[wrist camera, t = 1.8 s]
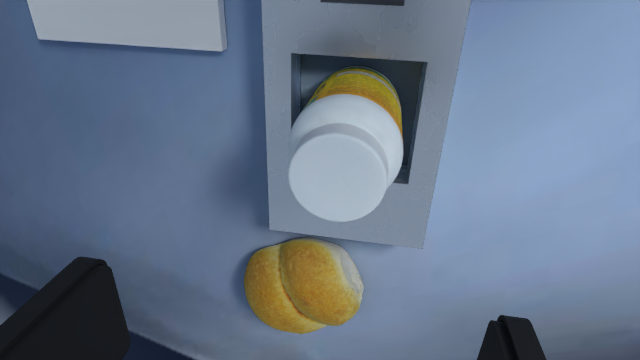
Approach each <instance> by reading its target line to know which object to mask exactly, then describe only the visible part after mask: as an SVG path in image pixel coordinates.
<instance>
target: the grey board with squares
mask: <svg viewBox="0 0 640 360" xmlns="http://www.w3.org/2000/svg"><path fill="white" fill-rule="evenodd" d="M470 4H471V0H261V5H262V33H263V61H264V89H265V117H266V144H267V172H268V200H269V228H270V230H277V231H285V232H292V233H300V234H308V235H316V236H324V237H332V238H340V239H347V240H355V241H363V242H371V243H379V244H387V245H394V246H402V247H410V248H418V249H423V243H424V238H425V233H426V228H427V223H428V218H429V213H430V208H431V203H432V198H433V193H434V187H435V182H436V177H437V172H438V167H439V162H440V157H441V152H442V147H443V142H444V137H445V131H446V126H447V121H448V116H449V111H450V106H451V101H452V96H453V91H454V86H455V80H456V75H457V70H458V65H459V60H460V55H461V50H462V45H463V40H464V35H465V30H466V24H467V19H468V14H469V9H470ZM301 54H313V55H328V56H344V57H359V58H374V59H389V60H404V61H419V62H423V66H422V72H421V79H420V85H419V92H418V98H417V105H416V111H415V118H414V124H413V131H412V137H411V144H410V150H409V157H408V163H407V166H403V165H401V168H400V170H399V173H398V175H397V177H396V178H395V180H394V181H393V183H392V184H391V185H390V186H389V187H388V188H387V189H386V191H385V194H384V197H383V198H382V200H381V202H380V203H379V205H378V206H377V207H376V208H375V209H374V210H373V211H372V212H370V213H369V214H367V215H366V216H364V217H362V218H359V219H357V220H353V221H347V222H334V221H328V220H325V219H322V218H319V217H317V216H315V215H313V214H311V213H310V212H308V211H307V210H305V209H304V208H303V207H302V206H301V205H300V204H299V203H298V201H297V200H296V199H295V197H294V195H293V193H292V191H291V189H290V185H289V181H288V169H289V164H290V160H289V155H288V141H289V136H290V132H291V129H292V127H293V125H294V123H295V121H296V119H297V117H298V116H299V115H300V91H301Z"/></svg>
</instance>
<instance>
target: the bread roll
mask: <svg viewBox="0 0 640 360" xmlns="http://www.w3.org/2000/svg"><path fill="white" fill-rule="evenodd" d="M244 287H245V294H246V298H247V301H248V303H249V305H250V307H251V309H252V310H253V312H254V313H255V314H256V316H257V317H258V318H259V319H260V320H261V321H262V322H264V323H265V324H267V325H268V326H270V327H272V328H275V329H278V330H281V331H286V332H292V333H299V334H303V333H309V332H312V331H316V330H318V329H321V328H323V327H325V326H328V325H330V326H337V325H342V324H344V323H345V322H346V321H348V320H349V319H351V318H352V317H353V316H354V315H355V314H356V313H357V311H358V309H359V307H360V304H361V301H362V293H363V283H362V280H361V278H360V275H359V273H358V270H357V268H356V266H355V264H354V262H353V261H352V259H351V258H350V256H349V255H348V253H347V252H346V251H345V250H344V249H343V248H342V247H341V246H339V245H337V244H334V243H331V242H327V241H324V240H320V239H315V238H311V237H304V238H298V239H292V240H289V241H287V242H284V243H281V244H278V245H273V246H269V247H265V248H262V249H260V250H258V251H256V252H255V253H254V254H253V255H252V257H251V258H250V260H249V262H248V265H247V268H246V271H245V276H244Z"/></svg>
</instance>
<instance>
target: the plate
mask: <svg viewBox="0 0 640 360" xmlns="http://www.w3.org/2000/svg"><path fill="white" fill-rule="evenodd" d="M27 3H28V6H29V10H30V13H31V16H32V20H33V23H34V26H35V30H36V33H37V37H38V39H43V40H58V41H72V42H87V43H102V44H117V45H132V46H147V47H162V48H177V49H192V50H207V51H224V50H226V49H227V39H226V26H225V13H224V1H223V0H27Z"/></svg>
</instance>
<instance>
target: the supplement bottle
mask: <svg viewBox="0 0 640 360" xmlns="http://www.w3.org/2000/svg"><path fill="white" fill-rule="evenodd" d="M288 155H289V160H290V164H289V169H288V181H289V185H290V189H291V191H292V193H293V195H294V197H295V199H296V200H297V201H298V203H299V204H300V205H301V206H302V207H303V208H304V209H305V210H307V211H308V212H310V213H311V214H313V215H315V216H317V217H319V218H322V219H325V220H328V221H334V222H347V221H353V220H357V219H359V218H362V217H364V216H366V215H367V214H369V213H370V212H372V211H373V210H374V209H375V208H376V207H377V206H378V205H379V203H380V202H381V200H382V198H383V197H384V194H385V191H386V189H387V188H388V187H389V186H390V185H391V184H392V183H393V181H394V180H395V178H396V177H397V175H398V173H399V170H400V168H401V164H402V160H403V136H402V115H401V104H400V99H399V96H398V94H397V92H396V90H395V88H394V86H393V85H392V83H391V82H390V81H389V80H388V79H387V78H386V77H385V76H384V75H383V74H381V73H380V72H378V71H376V70H374V69H371V68H368V67H363V66H350V67H345V68H342V69H340V70H337V71H336V72H334V73H332V74H331V75H329V76H328V77H327V78H325V79H324V80H323V82H322V83H321V84H320V85H319V87H318V88H317V89H316V91H315V93H314V94H313V96H312V97H311V99H310V100H309V102H308V103H307V104H306V106H305V107H304V109H303V110H302V112H301V113H300V115H299V116H298V117H297V119H296V121H295V123H294V125H293V127H292V129H291V132H290V136H289V141H288Z"/></svg>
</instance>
